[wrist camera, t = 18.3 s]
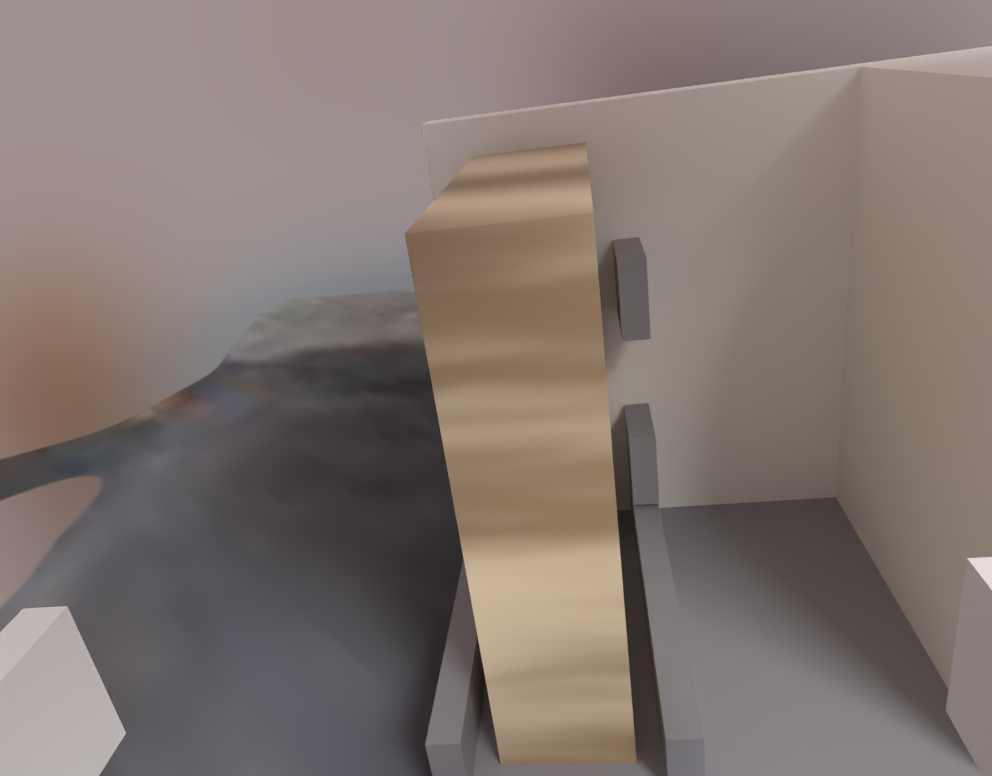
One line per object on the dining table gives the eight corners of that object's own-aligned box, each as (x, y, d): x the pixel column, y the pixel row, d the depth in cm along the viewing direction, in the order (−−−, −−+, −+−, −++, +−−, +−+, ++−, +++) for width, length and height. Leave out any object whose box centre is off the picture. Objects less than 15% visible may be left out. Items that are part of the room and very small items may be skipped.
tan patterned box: (636, 763, 22) (593, 212, 16) (500, 764, 23) (404, 233, 16) (616, 524, 33) (585, 142, 26) (524, 529, 33) (473, 156, 27)
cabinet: (1342, 805, 19) (1709, 21, 12) (441, 812, 22) (296, 194, 15) (1015, 482, 33) (1091, 33, 26) (490, 514, 36) (428, 121, 29)
